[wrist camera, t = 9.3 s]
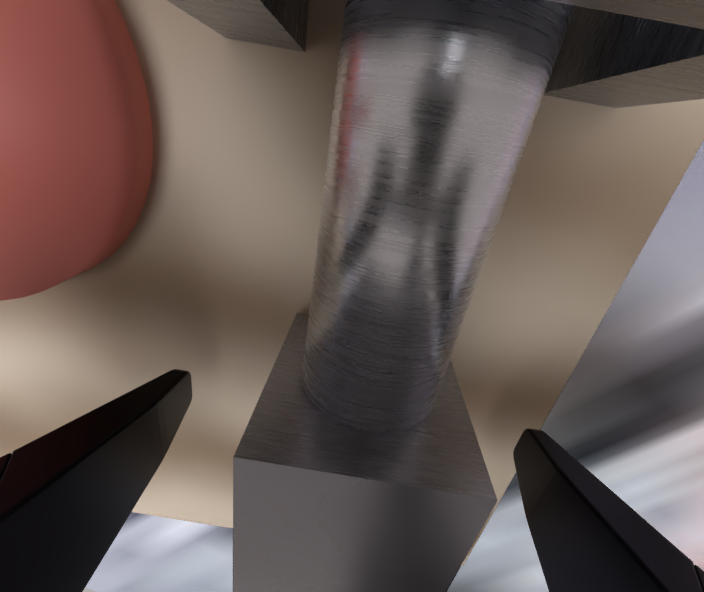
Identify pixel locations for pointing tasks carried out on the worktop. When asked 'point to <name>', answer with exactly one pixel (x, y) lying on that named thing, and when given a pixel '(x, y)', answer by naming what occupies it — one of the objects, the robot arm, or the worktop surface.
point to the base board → (300, 251)
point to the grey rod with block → (392, 305)
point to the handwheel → (68, 140)
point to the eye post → (574, 55)
